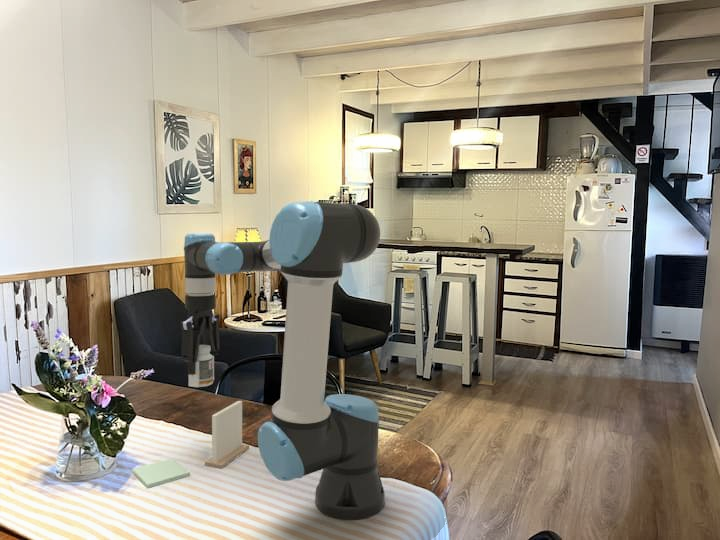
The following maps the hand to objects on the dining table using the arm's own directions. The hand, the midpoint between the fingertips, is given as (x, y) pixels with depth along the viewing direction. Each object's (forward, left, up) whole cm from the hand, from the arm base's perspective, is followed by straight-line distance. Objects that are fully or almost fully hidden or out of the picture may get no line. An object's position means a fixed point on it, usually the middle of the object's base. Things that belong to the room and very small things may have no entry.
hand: (201, 382), depth 144 cm
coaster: (-6, +13, -18) cm, 23 cm away
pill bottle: (0, 0, -1) cm, 1 cm away
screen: (-7, -4, -18) cm, 20 cm away
